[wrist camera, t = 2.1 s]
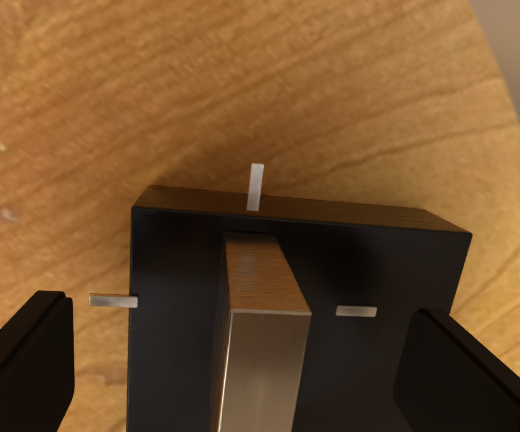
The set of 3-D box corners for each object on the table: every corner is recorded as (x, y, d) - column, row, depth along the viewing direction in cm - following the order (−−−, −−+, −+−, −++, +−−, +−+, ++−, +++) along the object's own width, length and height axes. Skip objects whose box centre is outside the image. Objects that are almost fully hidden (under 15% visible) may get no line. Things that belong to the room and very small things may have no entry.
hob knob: (223, 230, 11) (230, 316, 7) (275, 233, 11) (317, 320, 7) (209, 369, 12) (208, 521, 8) (256, 370, 13) (281, 518, 8)
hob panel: (116, 136, 13) (87, 146, 10) (434, 170, 15) (492, 187, 12) (113, 477, 17) (92, 557, 14) (359, 470, 19) (387, 539, 16)
